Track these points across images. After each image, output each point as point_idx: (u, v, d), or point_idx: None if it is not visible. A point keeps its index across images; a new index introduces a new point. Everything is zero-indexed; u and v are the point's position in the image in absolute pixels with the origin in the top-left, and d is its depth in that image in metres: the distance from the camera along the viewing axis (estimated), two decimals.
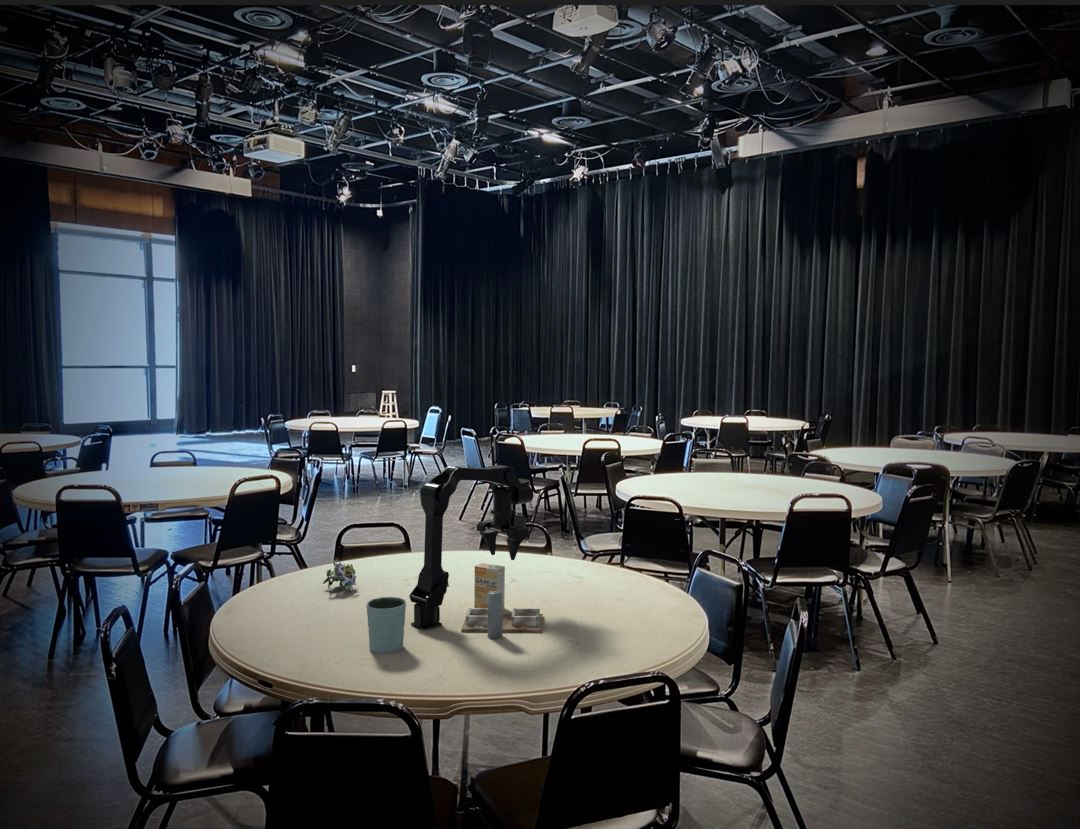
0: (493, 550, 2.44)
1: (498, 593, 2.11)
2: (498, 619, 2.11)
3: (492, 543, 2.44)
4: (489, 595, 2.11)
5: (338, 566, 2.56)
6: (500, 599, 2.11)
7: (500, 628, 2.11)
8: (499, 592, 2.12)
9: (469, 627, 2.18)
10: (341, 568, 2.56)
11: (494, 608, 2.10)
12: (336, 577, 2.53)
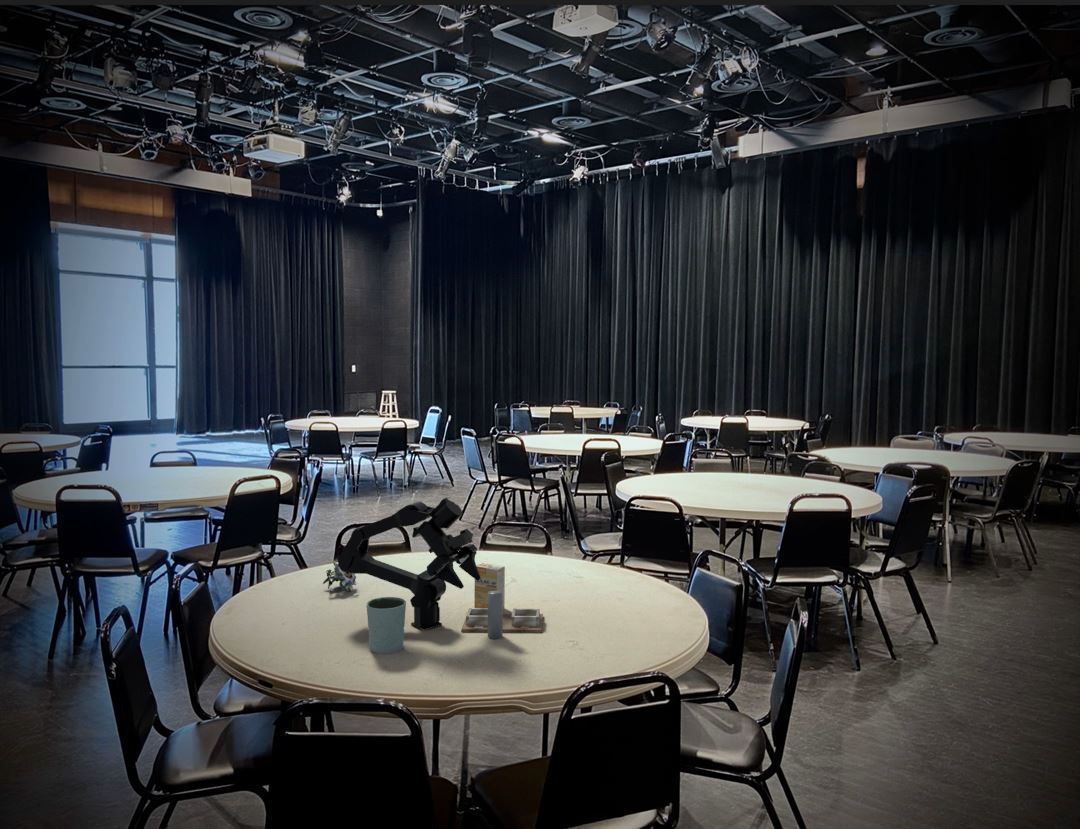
0: (475, 575, 2.20)
1: (498, 593, 2.11)
2: (498, 619, 2.11)
3: (471, 569, 2.21)
4: (489, 595, 2.11)
5: (338, 566, 2.56)
6: (500, 599, 2.11)
7: (500, 628, 2.11)
8: (499, 592, 2.12)
9: (469, 627, 2.18)
10: None
11: (494, 608, 2.10)
12: (336, 577, 2.53)
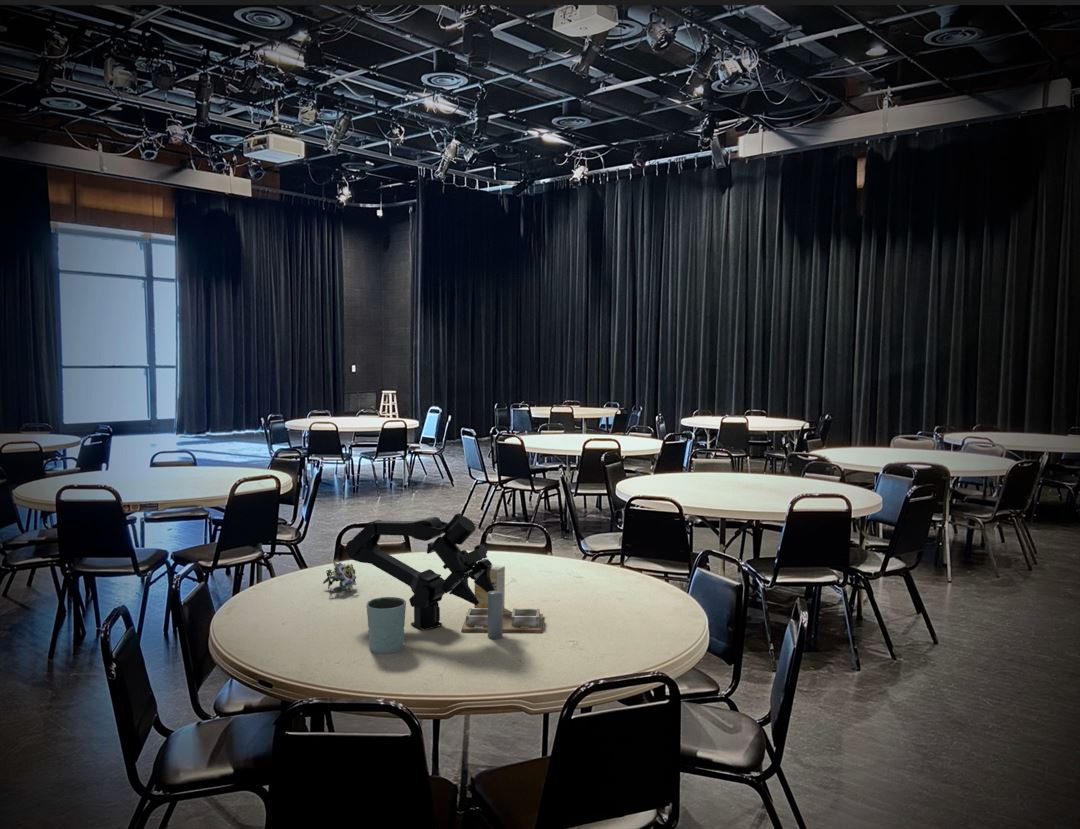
0: None
1: (498, 593, 2.11)
2: (498, 619, 2.11)
3: (486, 585, 2.18)
4: (489, 595, 2.11)
5: (338, 566, 2.56)
6: (500, 599, 2.11)
7: (500, 628, 2.11)
8: (499, 592, 2.12)
9: (469, 627, 2.18)
10: (341, 568, 2.56)
11: (494, 608, 2.10)
12: (336, 577, 2.53)
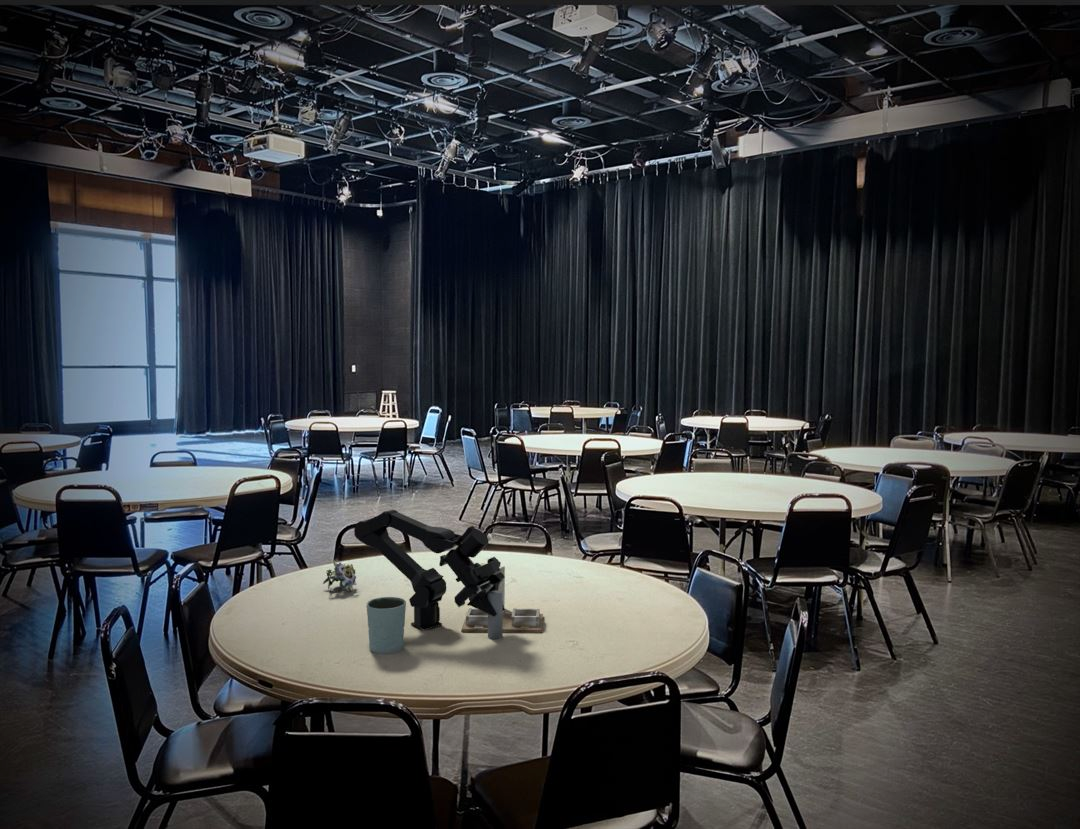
0: None
1: (498, 593, 2.11)
2: (498, 619, 2.11)
3: None
4: (489, 595, 2.11)
5: (338, 566, 2.56)
6: (500, 599, 2.11)
7: (500, 628, 2.11)
8: (499, 592, 2.12)
9: (469, 627, 2.18)
10: (341, 568, 2.56)
11: (494, 608, 2.10)
12: (336, 577, 2.53)
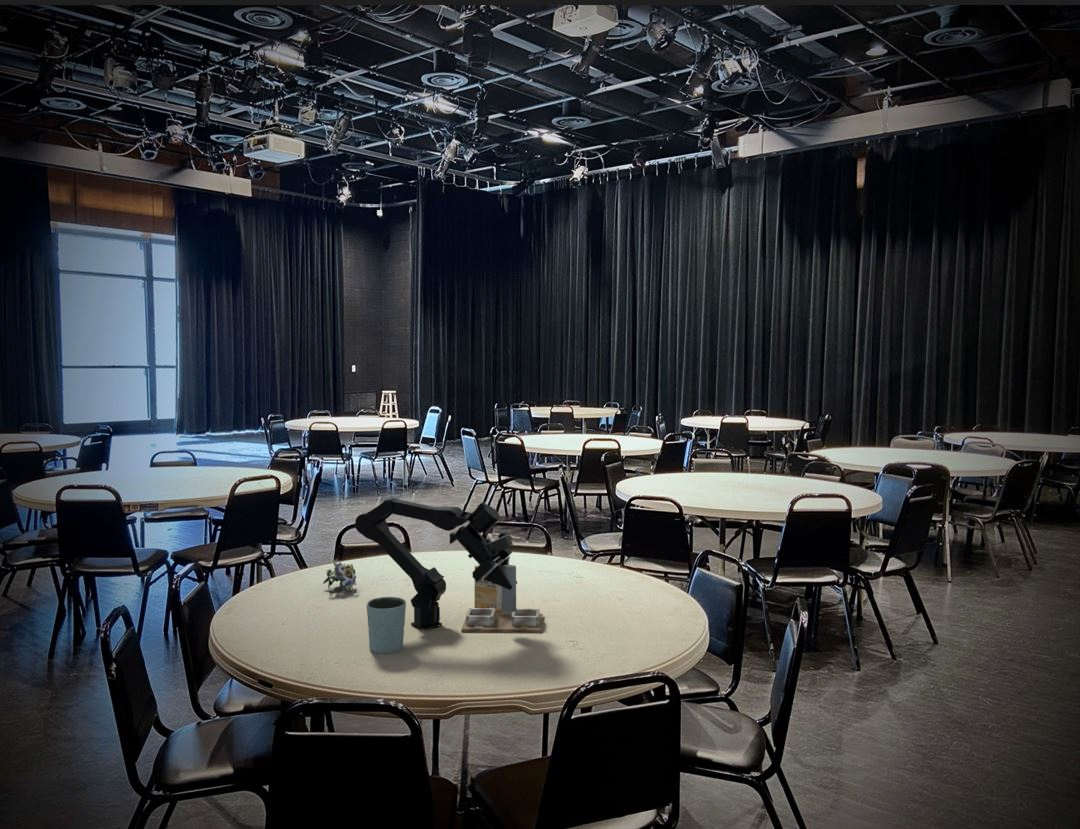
0: None
1: (512, 567, 2.14)
2: (513, 592, 2.14)
3: None
4: (504, 569, 2.13)
5: (338, 566, 2.56)
6: (515, 572, 2.14)
7: (515, 601, 2.14)
8: (512, 566, 2.15)
9: (469, 627, 2.18)
10: (341, 568, 2.56)
11: (510, 581, 2.13)
12: (336, 577, 2.53)
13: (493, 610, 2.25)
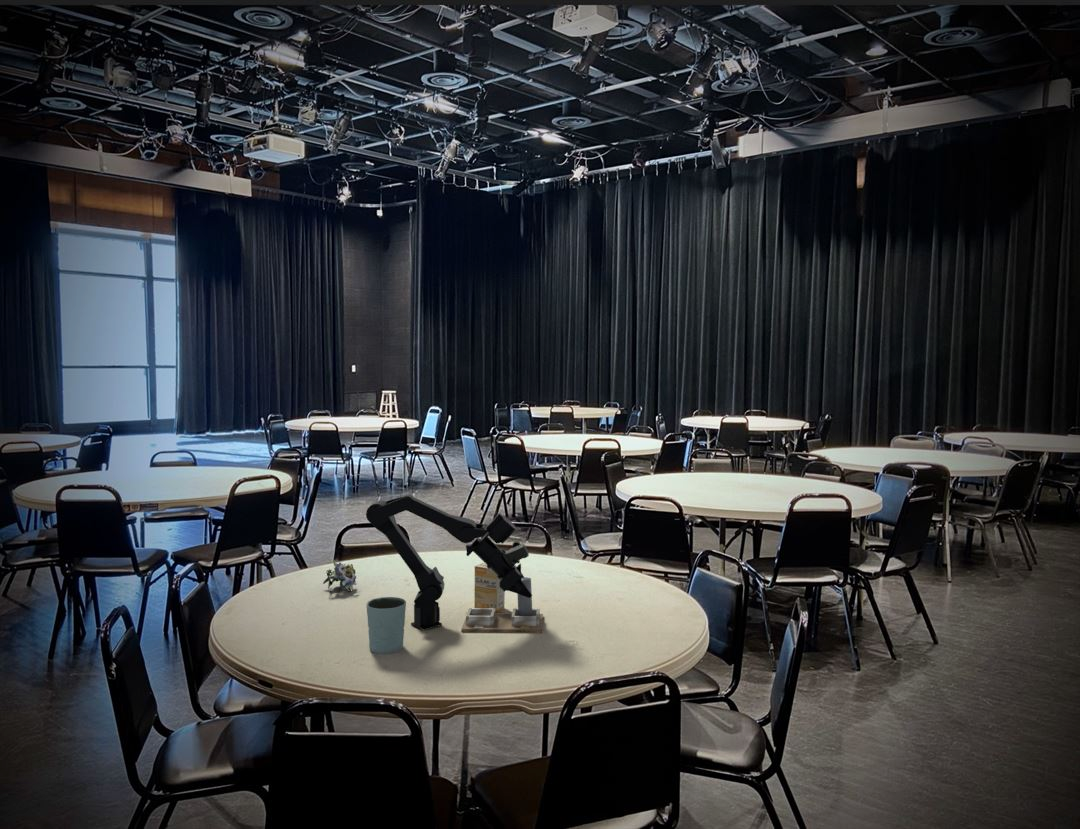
0: None
1: (528, 579, 2.22)
2: (530, 603, 2.22)
3: None
4: None
5: (338, 566, 2.56)
6: None
7: None
8: (527, 578, 2.23)
9: (469, 627, 2.18)
10: (341, 568, 2.56)
11: None
12: (336, 577, 2.53)
13: (493, 610, 2.25)
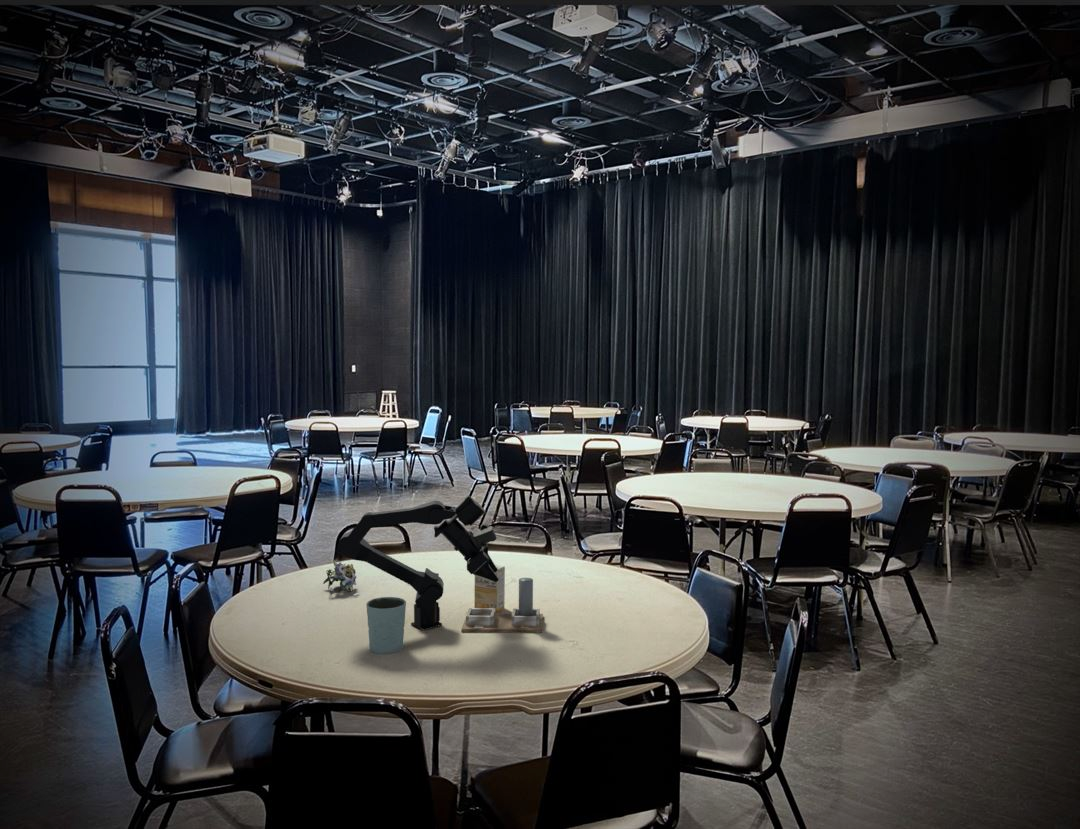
0: (493, 568, 2.28)
1: (530, 579, 2.22)
2: (531, 604, 2.21)
3: None
4: (523, 582, 2.20)
5: (338, 566, 2.56)
6: (532, 585, 2.22)
7: (532, 612, 2.22)
8: (529, 578, 2.23)
9: (469, 627, 2.18)
10: (341, 568, 2.56)
11: (529, 594, 2.21)
12: (336, 577, 2.53)
13: (493, 610, 2.25)
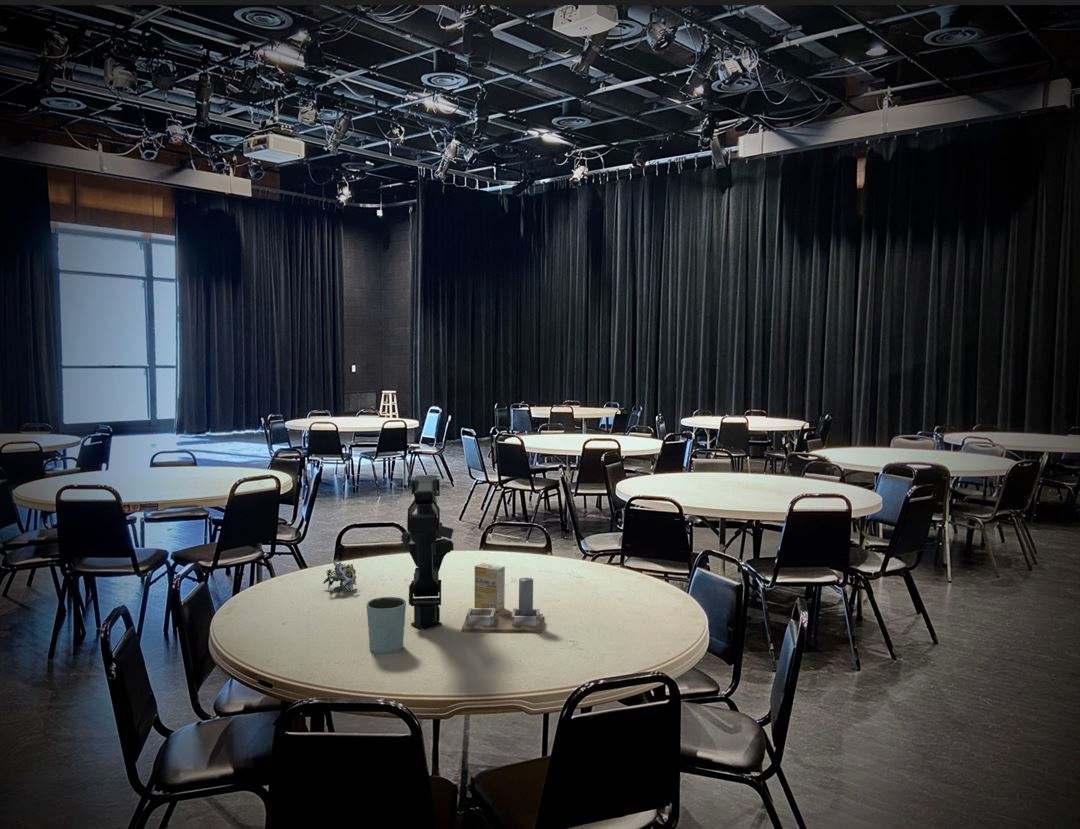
0: (418, 562, 2.35)
1: (530, 579, 2.22)
2: (531, 604, 2.21)
3: (417, 554, 2.35)
4: (524, 582, 2.20)
5: (338, 566, 2.56)
6: (532, 585, 2.22)
7: (532, 612, 2.22)
8: (529, 578, 2.23)
9: (469, 627, 2.18)
10: (341, 568, 2.56)
11: (529, 594, 2.21)
12: (336, 577, 2.53)
13: (493, 610, 2.25)
